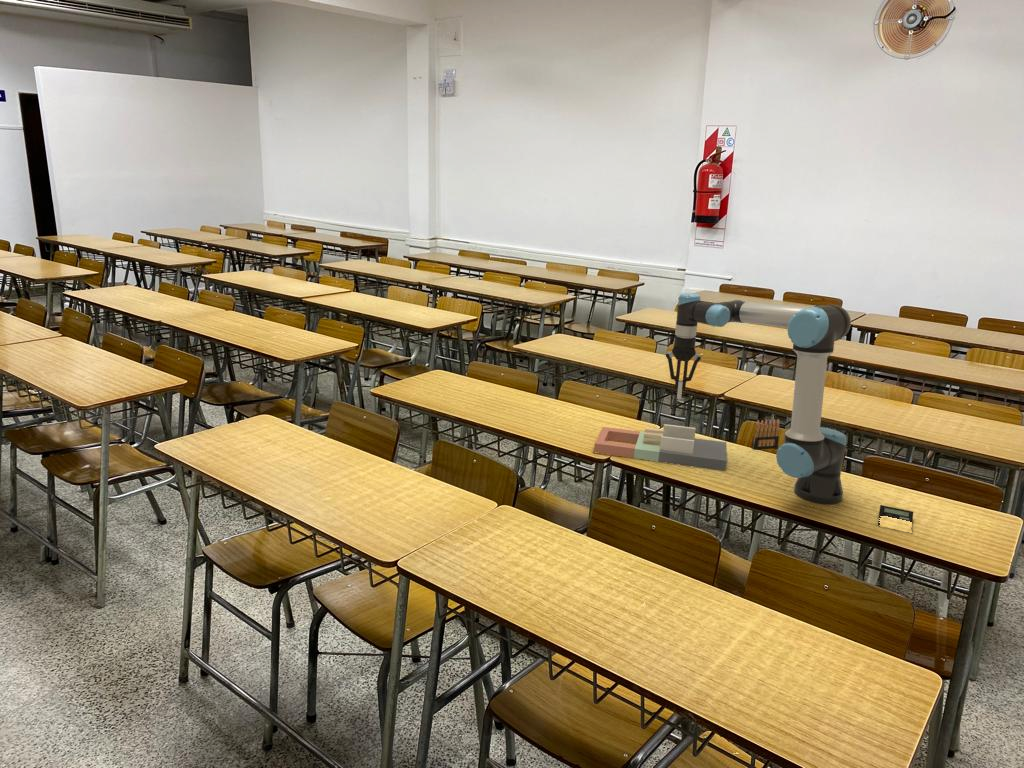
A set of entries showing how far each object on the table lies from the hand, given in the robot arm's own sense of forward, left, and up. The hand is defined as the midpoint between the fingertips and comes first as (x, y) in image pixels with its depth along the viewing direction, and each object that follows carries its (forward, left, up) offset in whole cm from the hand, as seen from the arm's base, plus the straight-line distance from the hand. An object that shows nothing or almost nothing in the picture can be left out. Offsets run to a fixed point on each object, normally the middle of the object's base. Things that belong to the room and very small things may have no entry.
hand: (679, 397), depth 266 cm
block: (0, +8, -18) cm, 20 cm away
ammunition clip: (+20, -34, -23) cm, 46 cm away
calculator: (-34, -70, -23) cm, 81 cm away
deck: (0, +5, -22) cm, 23 cm away
